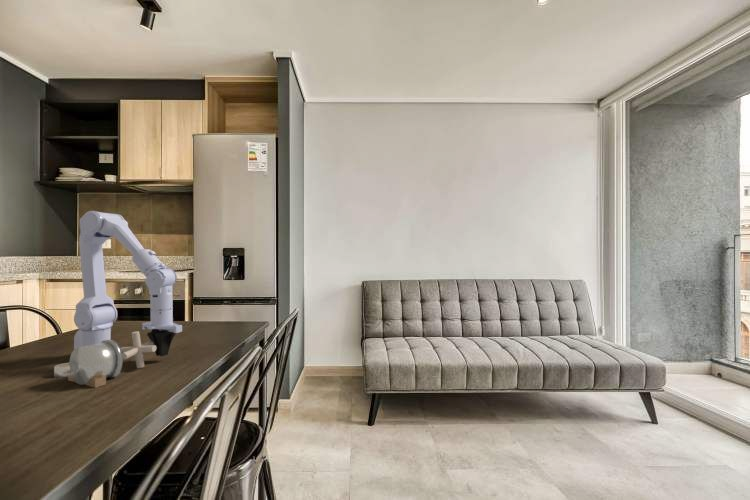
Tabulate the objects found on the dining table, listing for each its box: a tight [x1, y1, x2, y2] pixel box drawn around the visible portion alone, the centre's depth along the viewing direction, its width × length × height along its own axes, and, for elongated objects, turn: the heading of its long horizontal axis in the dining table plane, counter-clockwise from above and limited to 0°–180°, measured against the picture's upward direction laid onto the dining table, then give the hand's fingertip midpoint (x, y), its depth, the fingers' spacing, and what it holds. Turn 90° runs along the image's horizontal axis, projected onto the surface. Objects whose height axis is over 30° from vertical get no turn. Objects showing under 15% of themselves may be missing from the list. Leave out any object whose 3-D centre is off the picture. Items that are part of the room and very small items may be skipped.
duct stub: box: [67, 339, 124, 388], centre depth 92 cm, size 11×7×10 cm, turn 67°
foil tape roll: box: [53, 362, 70, 378], centre depth 96 cm, size 5×5×2 cm
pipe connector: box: [120, 330, 157, 369], centre depth 102 cm, size 10×10×10 cm
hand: (162, 355), depth 109 cm, fingers closed
